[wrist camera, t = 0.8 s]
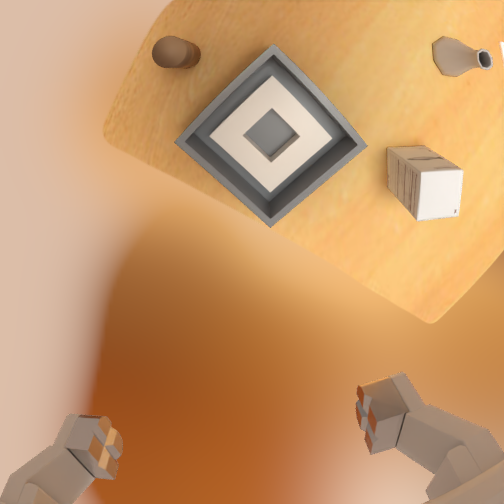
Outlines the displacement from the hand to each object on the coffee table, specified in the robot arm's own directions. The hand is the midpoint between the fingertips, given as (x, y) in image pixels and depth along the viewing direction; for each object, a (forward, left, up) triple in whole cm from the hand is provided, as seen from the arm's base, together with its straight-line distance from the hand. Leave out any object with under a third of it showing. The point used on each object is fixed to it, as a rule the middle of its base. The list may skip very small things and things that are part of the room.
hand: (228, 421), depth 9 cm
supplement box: (-15, +21, -43) cm, 50 cm away
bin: (-2, +2, -42) cm, 42 cm away
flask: (-34, +11, -43) cm, 56 cm away
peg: (-2, -15, -42) cm, 45 cm away
